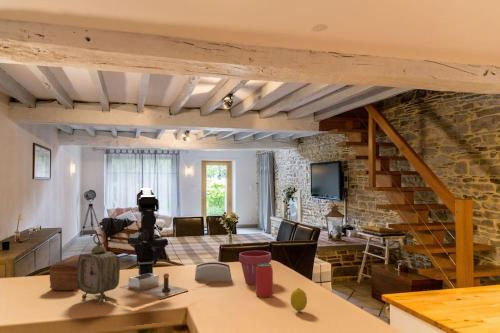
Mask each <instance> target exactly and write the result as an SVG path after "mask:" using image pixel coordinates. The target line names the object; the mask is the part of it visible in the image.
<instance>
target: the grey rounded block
mask: <svg viewBox="0 0 500 333" xmlns="http://www.w3.org/2000/svg"><path fill="white" fill-rule="evenodd" d="M194 280H195V281H200V282H204V281H222V282H228V283H229V282H232V273H231V267H230V264H229V263H226V262H222V261H214V260H213V261H206V262H205V261H204V262H200V263H198V264H196V267H195V273H194Z"/></svg>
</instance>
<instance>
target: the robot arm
mask: <svg viewBox="0 0 500 333" xmlns="http://www.w3.org/2000/svg"><path fill="white" fill-rule="evenodd" d="M136 206H137V210H138V212H139V213H140V226H139V227H138V229H137V231H136V232H134V233H132V234H131V235H129V237H128V239H127V244H128V245H129V246H130V247H132V248H133V249H134V251H135V253H136V258H135V259H136V263H135V265H136V267H138V275H142V274H146V273H150V274H154V268H153V266H155V265H156V264H157V262H158V260H159V259H160V255H161V254H162V252H163V250H164V249H165V248H166V247H167V246H169V240H168V239H167V238H162V237H159V238H157V236H156V234H155V233H156V232H155V230H157V226H156V223H157V216H156V215H155V213H157V212H158V210H160V202H159V199H158V198H157V197H156V195H155V193H154V192H153V189H152V188H150V187H149V188H147V187H141V188H140V191H139V192H138V193H136Z"/></svg>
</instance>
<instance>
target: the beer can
mask: <svg viewBox="0 0 500 333" xmlns="http://www.w3.org/2000/svg"><path fill="white" fill-rule="evenodd" d="M273 279H274V271H273V267H272V264H271V263H269V264H268V263H261V264H258V265H257V268H256V284H255V294H256V297H258V298H260V299H261V298H262V299H266V298H268V299H269V298H271V297H273V296H274V280H273Z"/></svg>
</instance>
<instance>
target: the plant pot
mask: <svg viewBox="0 0 500 333" xmlns="http://www.w3.org/2000/svg"><path fill="white" fill-rule="evenodd" d="M238 260H239V263H240V264H241V267H242V268H241V270H242V273H243V278H244V283H245V284H248V285H256V268H257V265H258V264H261V263H268V264H271V262H272V254H271V252H270V251H266V250H246V251H243V252H239V254H238Z"/></svg>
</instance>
